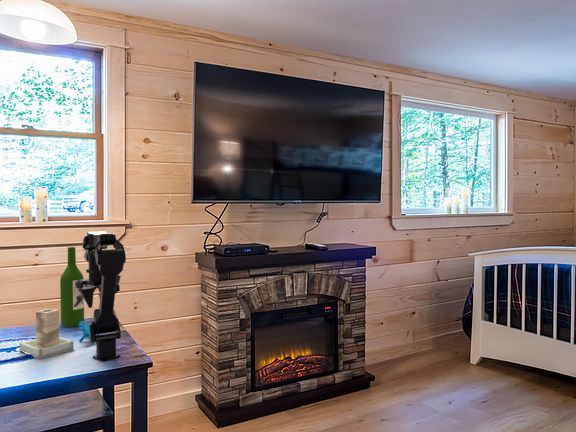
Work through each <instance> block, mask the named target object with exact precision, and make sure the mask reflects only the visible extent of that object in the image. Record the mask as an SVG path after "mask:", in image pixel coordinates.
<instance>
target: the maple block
mask: <svg viewBox="0 0 576 432" xmlns="http://www.w3.org/2000/svg"><path fill="white" fill-rule="evenodd" d="M59 315H60V311H59V309H55V308H45V309H41V310H37V311H35V333H36V334H35V336H36V338H35V339H36V346H37V348H39V349H42V348H46V347H50V346H53V345H57V344H59V337H60V316H59Z"/></svg>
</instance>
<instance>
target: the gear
mask: <svg viewBox="0 0 576 432" xmlns="http://www.w3.org/2000/svg"><path fill="white" fill-rule="evenodd" d="M90 325H91V323H87V321H86V320H84V322H82V321H80V322H79V325H78V326H77V327H79V330H80V331H81V332H82V336H81V337H80V338H79V339H78V342H80V343H82V341H84V339H85V340H86V339H88V340H91V338H90V328H89V326H90ZM97 335H100V334H97Z"/></svg>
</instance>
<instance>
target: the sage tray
mask: <svg viewBox="0 0 576 432" xmlns="http://www.w3.org/2000/svg"><path fill="white" fill-rule="evenodd" d="M20 350H21V351H24V352H27V353H30V354H31V355H32V356H33V357H32V356H31V357H32V358H35V359H38V360H40V359H44V358H49V357H52V356H56V355H60V354H63V353H66V352H67V353H68V352H70V351H74V340H71V339H67V338H64V337H61V336H59V344H57V345H53V346H50V347H46V348H42V349H39V348H37V346H36V338H35V339H32V340H27V341H24V342H20V343H19V351H20Z"/></svg>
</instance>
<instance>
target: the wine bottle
mask: <svg viewBox="0 0 576 432" xmlns="http://www.w3.org/2000/svg"><path fill="white" fill-rule="evenodd" d="M82 279H85V278H84V274H83V273H82V272H81V270H80V268H78V266H77V259H76V246H68V247H67V266H66V268H65V269H64V271H63V272H62V274H61V275H60V279H59V288H60V294H59V295H60V326H61V327H63V328H75V327H74V326H76V327H79V326H78V325H79V322H80V321H82V322H84V321H85V300H84V298H83V296H82V295H81V293H80V291H78V289H79V288H76V282H77V281H78V280H82Z"/></svg>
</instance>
